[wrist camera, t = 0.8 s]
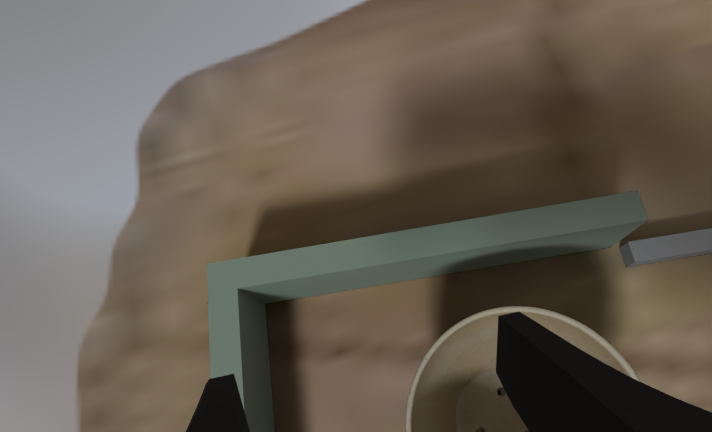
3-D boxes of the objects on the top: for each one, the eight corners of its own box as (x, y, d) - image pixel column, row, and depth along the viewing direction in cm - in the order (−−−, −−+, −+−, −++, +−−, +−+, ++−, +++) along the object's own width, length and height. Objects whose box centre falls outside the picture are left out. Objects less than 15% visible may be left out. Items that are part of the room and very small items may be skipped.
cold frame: (736, 621, 22) (821, 684, 18) (261, 676, 24) (223, 748, 19) (601, 222, 29) (637, 190, 25) (238, 282, 31) (206, 263, 26)
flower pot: (564, 311, 28) (612, 287, 21) (625, 508, 24) (705, 555, 18) (393, 340, 28) (386, 326, 22) (428, 538, 25) (433, 594, 18)
